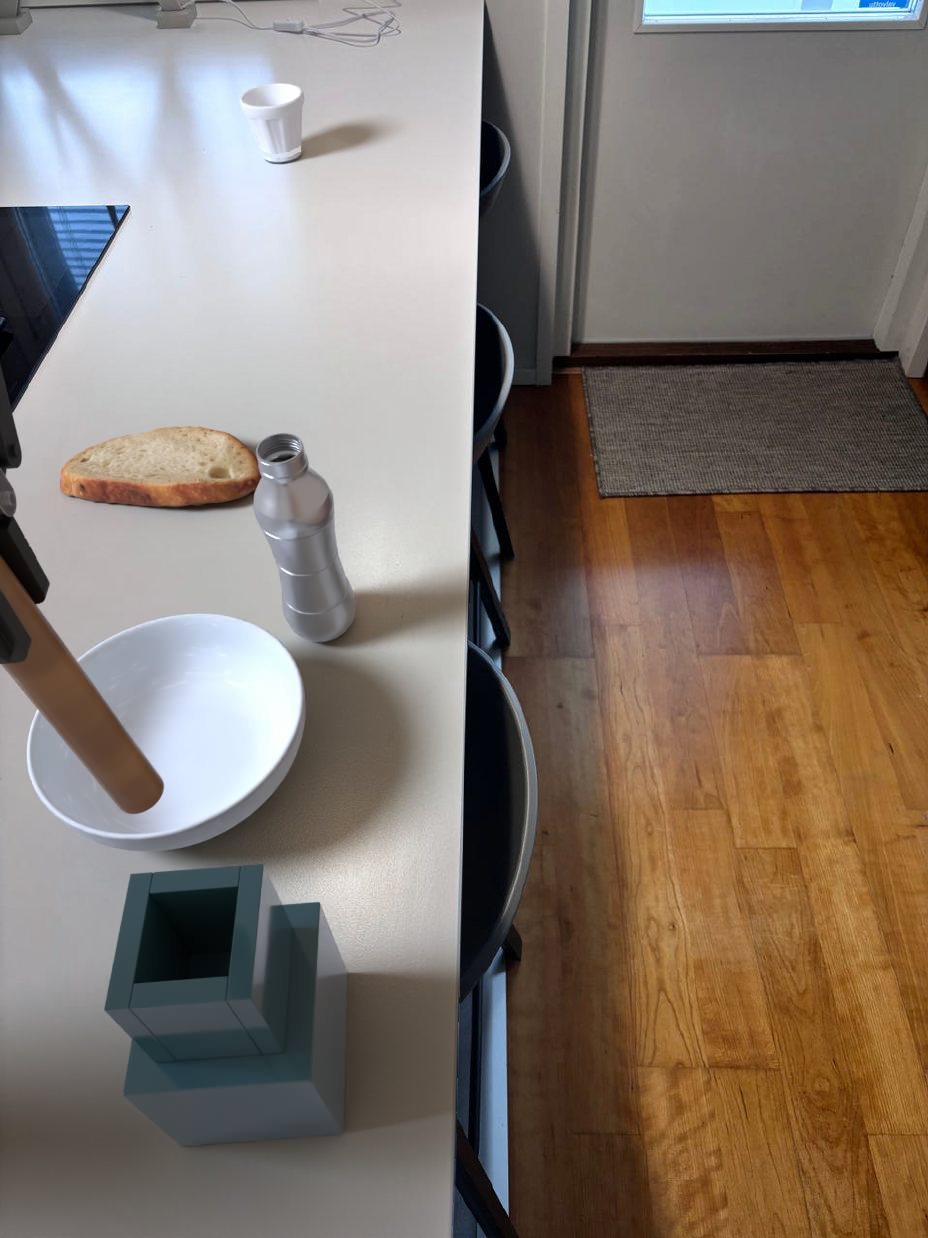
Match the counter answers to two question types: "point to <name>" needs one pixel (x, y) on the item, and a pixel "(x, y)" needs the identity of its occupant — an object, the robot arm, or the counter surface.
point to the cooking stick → (78, 708)
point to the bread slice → (163, 469)
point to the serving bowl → (181, 730)
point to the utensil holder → (229, 1008)
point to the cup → (275, 118)
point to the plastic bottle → (302, 540)
